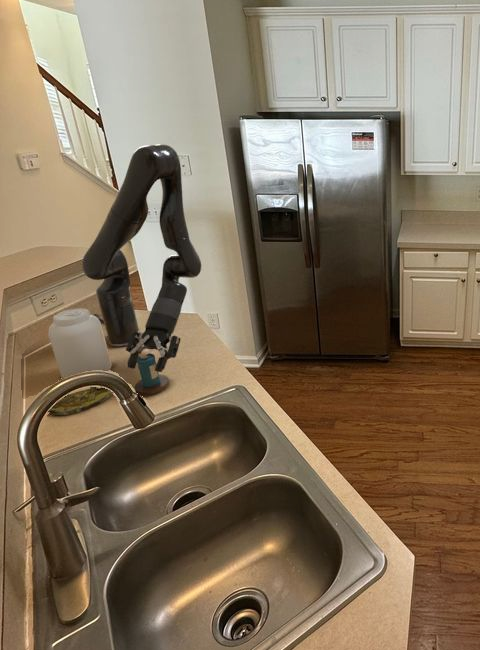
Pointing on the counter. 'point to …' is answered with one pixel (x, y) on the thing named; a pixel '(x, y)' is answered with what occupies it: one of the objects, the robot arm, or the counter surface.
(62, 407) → the mottled olive oval disc
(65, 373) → the white plastic jar
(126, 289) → the robot arm
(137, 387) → the stand
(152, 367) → the teal pump bottle
